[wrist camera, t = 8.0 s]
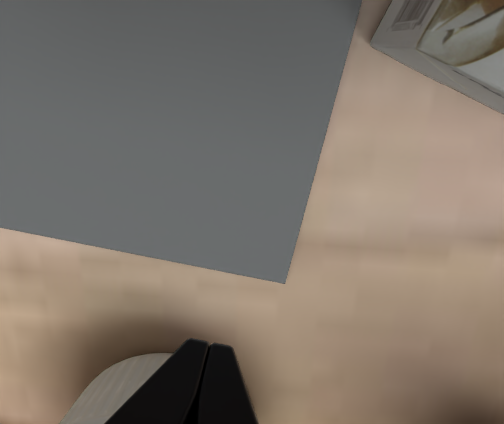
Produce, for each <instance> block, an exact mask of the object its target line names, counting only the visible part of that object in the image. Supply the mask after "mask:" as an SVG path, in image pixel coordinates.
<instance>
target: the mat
mask: <svg viewBox="0 0 504 424" xmlns="http://www.w3.org/2000/svg"><path fill="white" fill-rule="evenodd" d="M361 3H362V0H0V228H5V229H10V230H15V231H20V232H25V233H30V234H35V235H40V236H45V237H50V238H56V239H61V240H66V241H71V242H76V243H81V244H86V245H91V246H96V247H101V248H106V249H111V250H116V251H121V252H126V253H131V254H136V255H141V256H146V257H152V258H157V259H162V260H167V261H172V262H177V263H182V264H187V265H192V266H197V267H202V268H207V269H212V270H217V271H222V272H227V273H232V274H237V275H242V276H247V277H253V278H258V279H263V280H268V281H273V282H278V283H283V284H285V282H286V278H287V275H288V271H289V267H290V264H291V260H292V256H293V253H294V249H295V245H296V242H297V238H298V234H299V231H300V227H301V223H302V220H303V216H304V212H305V208H306V205H307V201H308V197H309V194H310V190H311V186H312V183H313V179H314V175H315V172H316V168H317V164H318V161H319V157H320V153H321V150H322V146H323V142H324V139H325V135H326V131H327V128H328V124H329V120H330V117H331V113H332V109H333V106H334V102H335V98H336V94H337V91H338V87H339V83H340V80H341V76H342V72H343V69H344V65H345V61H346V58H347V54H348V50H349V47H350V43H351V39H352V36H353V32H354V28H355V25H356V21H357V17H358V14H359V10H360V6H361Z"/></svg>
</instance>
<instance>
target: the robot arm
mask: <svg viewBox="0 0 504 424" xmlns="http://www.w3.org/2000/svg"><path fill="white" fill-rule="evenodd" d="M104 424H258V421H257V418H256V415H255V412H254V409H253V406H252V403H251V400H250V397H249V394H248V391H247V388H246V385H245V382H244V379H243V376H242V373H241V370H240V367H239V364H238V361H237V358H236V355H235V352H234V349H233V348H232V347H231V346H228V345H223V344H218V343H212V344H211V345H210V344H209V342H207V341H203V340H198V339H193V338H190V339H187V340H186V341H185V342H184V343H183V344H182V345H181V346H180V347H179V348H178V349H177V350H176V351H175V352H174V353H173V354H172V355H171V356H170V357H169V358H168V359H167V360H166V361H165V362H164V363H163V364H162V365H161V366H160V367H159V368H158V369H157V370H156V371H155V372H154V373H153V374H152V375H151V376H150V377H149V378H148V380H147V381H146V382H145V383H144V384H143V385H142V386H141V387H140V388H139V389H138V390H137V391H136V392H135V393H134V394H133V395H132V396H131V397H130V398H129V399H128V400H127V401H126V402H125V403H124V404H123V405H122V406H121V407H120V408H119V409H118V410H117V411H116V412H115V413H114V414H113V415H112V416H111V417H110V418H109V419H108V420H107V421H106V422H105V423H104Z"/></svg>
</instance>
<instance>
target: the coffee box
mask: <svg viewBox="0 0 504 424" xmlns="http://www.w3.org/2000/svg"><path fill="white" fill-rule="evenodd" d="M370 46H371V47H373V48H374V49H376V50H379V51H381V52H383V53H384V54H386V55H388V56H390V57H392V58H394V59H395V60H397V61H398V62H400V63H402V64H404V65H406V66H408V67H410V68H412V69H414V70H416V71H418V72H420V73H422V74H424V75H425V76H427V77H429V78H431V79H433V80H435V81H437V82H439V83H441V84H444V85H447V86H449V87H450V88H452V89H454V90H456V91H458V92H460V93H462V94H464V95H466V96H468V97H470V98H472V99H474V100H476V101H478V102H480V103H482V104H484V105H486V106H488V107H490V108H492V109H494V110H496V111H498V112H500V113H502V114H504V0H392V2H391V4H390V6H389V8H388V9H387V11H386V13H385V15H384V17H383V19H382V21H381V23H380V25H379V26H378V28H377V30H376V32H375V34H374V35H373V37H372V40H371V42H370Z"/></svg>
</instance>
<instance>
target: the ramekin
mask: <svg viewBox="0 0 504 424" xmlns="http://www.w3.org/2000/svg"><path fill="white" fill-rule="evenodd" d="M172 354H173V353H152V354H145V355H140V356H135V357H131V358H128V359H125V360H123V361H121V362H119V363H116V364H114V365H112V366H111V367H109V368H107V369H105V370H104V371H103V372H101V373H100V375H98V376H97V377H96V378H95V379H94V380H93V381H92V382H91V383H90V384H89V385H88V387H87V388H86V389H85V390H84V391H83V392H82V394H81V395H80V396H79V398H78V399H77V400H76V401H75V403H74V404H73V405H72V407H71V408H70V410H69V411H68V412H67V414H66V415H65V416H64V418H63V419H62V420H61V422H60V423H59V424H104V423H105V422H106V421H107V420H108V419H109V418H110V417H111V416H112V415H113V414H114V413H115V412H116V411H117V410H118V409H119V408H120V407H121V406H122V405H123V404H124V403H125V402H126V401H127V400H128V399H129V398H130V397H131V396H132V395H133V394H134V393H135V392H136V391H137V390H138V389H139V388H140V387H141V386H142V385H143V384H144V383H145V382H146V381H147V380H148V378H149V377H150V376H151V375H152V374H153V373H154V372H155V371H156V370H157V369H158V368H159V367H160V366H161V365H162V364H163V363H164V362H165V361H166V360H167V359H168V358H169V357H170V356H171V355H172ZM253 409H254V408H253ZM254 412H255V411H254ZM255 415H256V413H255ZM256 418H257V416H256ZM257 421H258V420H257Z"/></svg>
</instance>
